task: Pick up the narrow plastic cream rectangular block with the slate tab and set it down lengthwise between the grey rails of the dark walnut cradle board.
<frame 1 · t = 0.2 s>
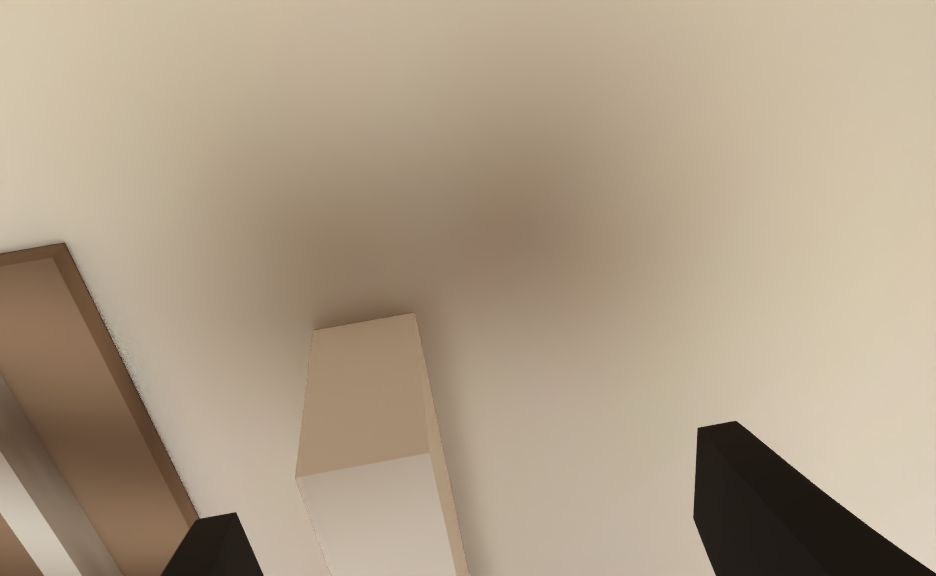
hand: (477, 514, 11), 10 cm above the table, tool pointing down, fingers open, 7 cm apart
cream rectangular block: (406, 485, 24), on the table
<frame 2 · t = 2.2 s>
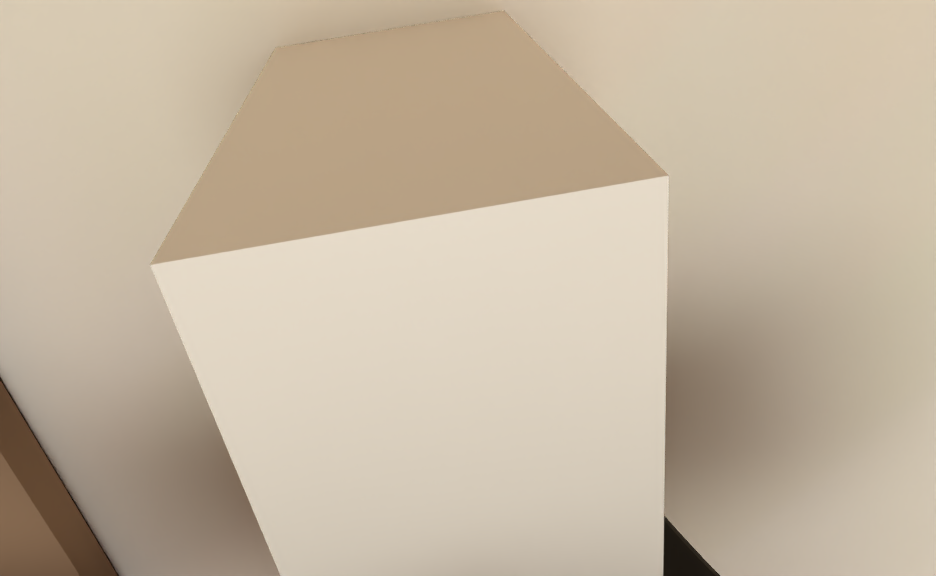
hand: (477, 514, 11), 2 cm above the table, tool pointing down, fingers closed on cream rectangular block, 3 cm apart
cream rectangular block: (463, 429, 13), on the table, touching gripper
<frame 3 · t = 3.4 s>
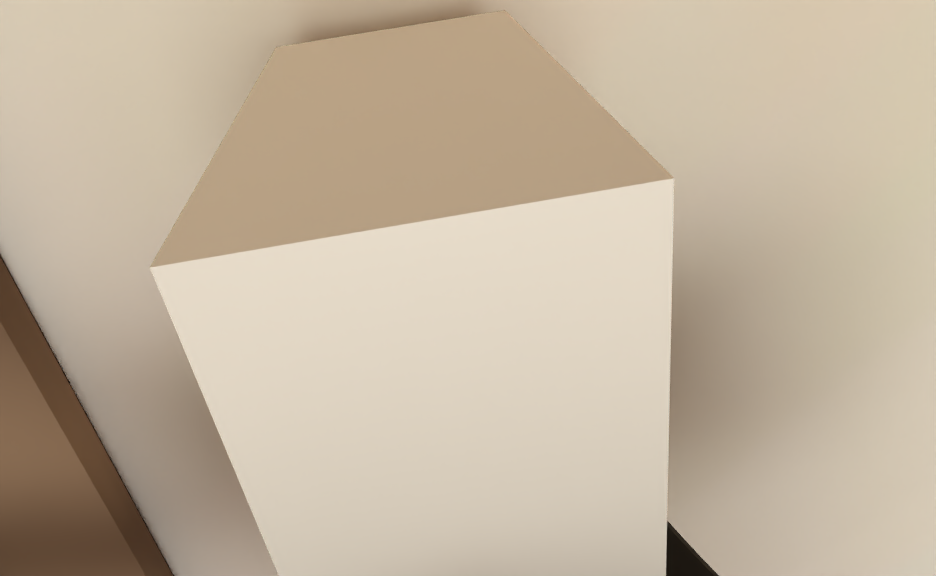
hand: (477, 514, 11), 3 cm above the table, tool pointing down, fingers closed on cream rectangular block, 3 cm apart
cream rectangular block: (463, 431, 13), point 1 cm above the table, touching gripper
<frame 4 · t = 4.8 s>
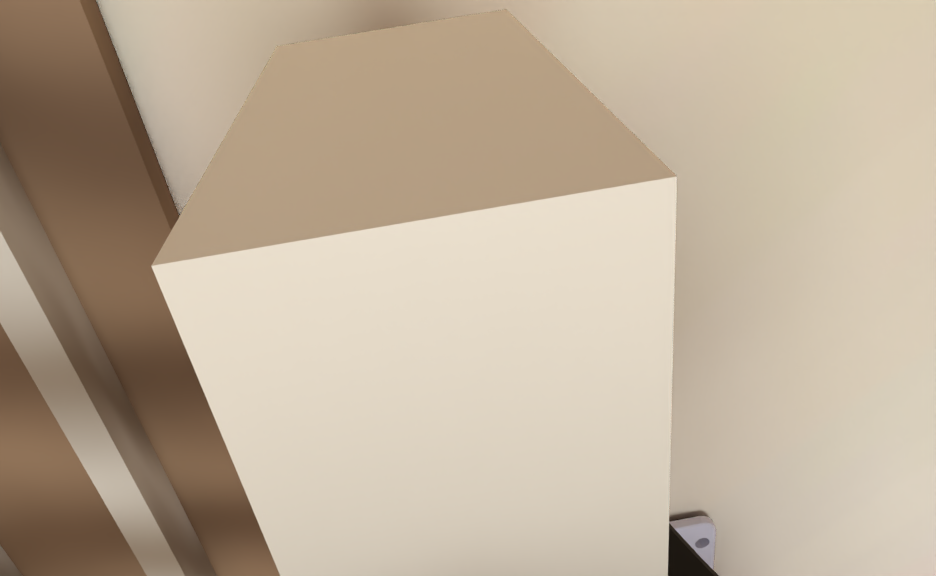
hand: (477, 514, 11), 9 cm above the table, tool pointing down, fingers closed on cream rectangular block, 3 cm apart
cream rectangular block: (464, 430, 13), point 7 cm above the table, touching gripper
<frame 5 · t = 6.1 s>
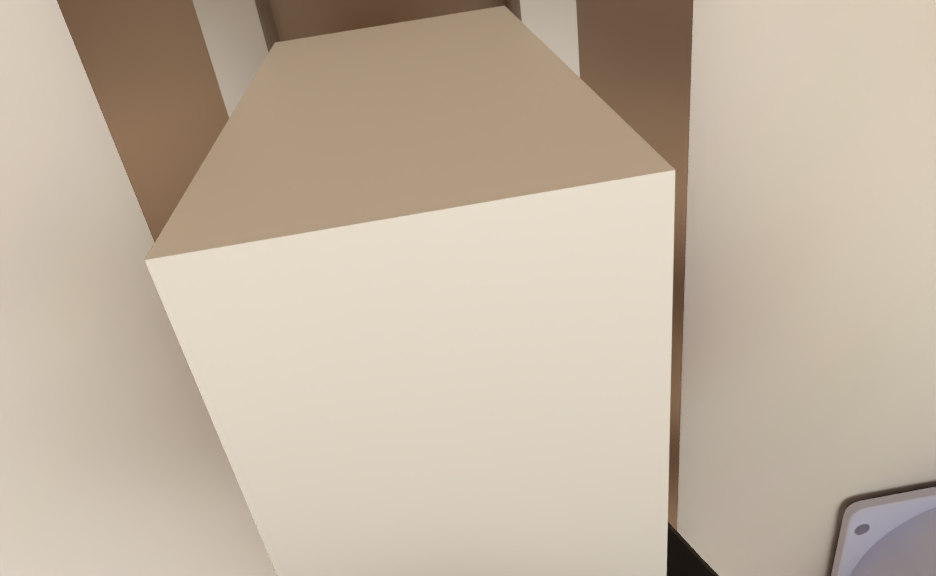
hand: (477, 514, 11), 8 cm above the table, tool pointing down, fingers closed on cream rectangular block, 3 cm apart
cradle: (439, 277, 18), on the table
cream rectangular block: (463, 429, 13), point 6 cm above the table, touching gripper
when the fingers open (4 cm above the table, at t = 7.2 s): cream rectangular block drops 1 cm, resting on cradle.
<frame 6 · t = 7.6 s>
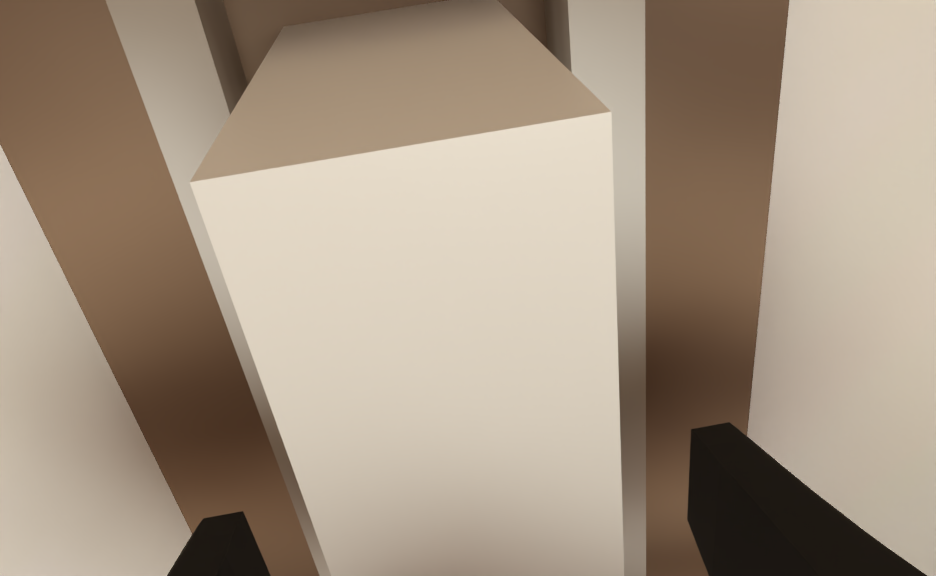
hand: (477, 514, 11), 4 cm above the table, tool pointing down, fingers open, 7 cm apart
cradle: (453, 366, 14), on the table
cream rectangular block: (455, 388, 14), point 1 cm above the table, touching cradle
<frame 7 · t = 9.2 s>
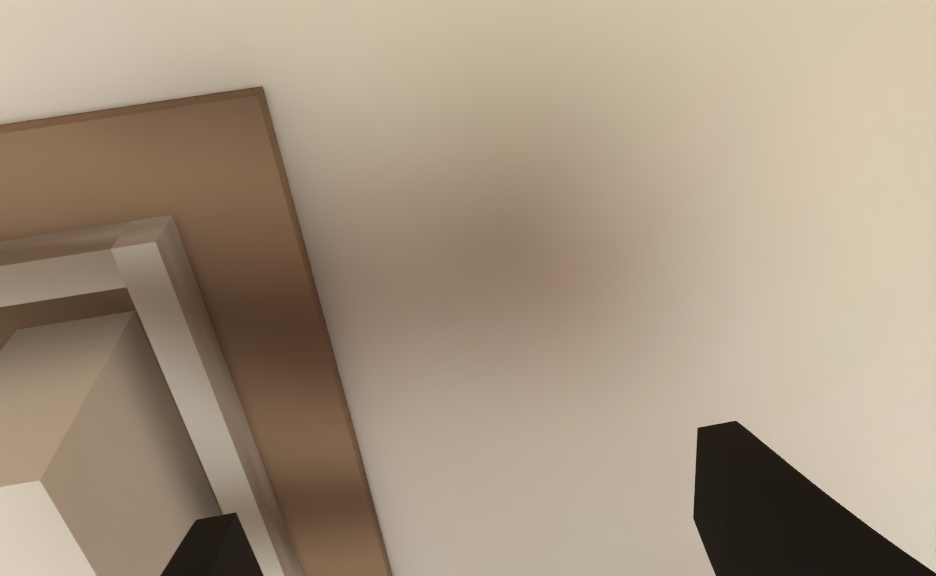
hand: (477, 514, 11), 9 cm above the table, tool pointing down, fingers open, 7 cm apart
cradle: (174, 490, 22), on the table
cream rectangular block: (166, 508, 22), point 1 cm above the table, touching cradle
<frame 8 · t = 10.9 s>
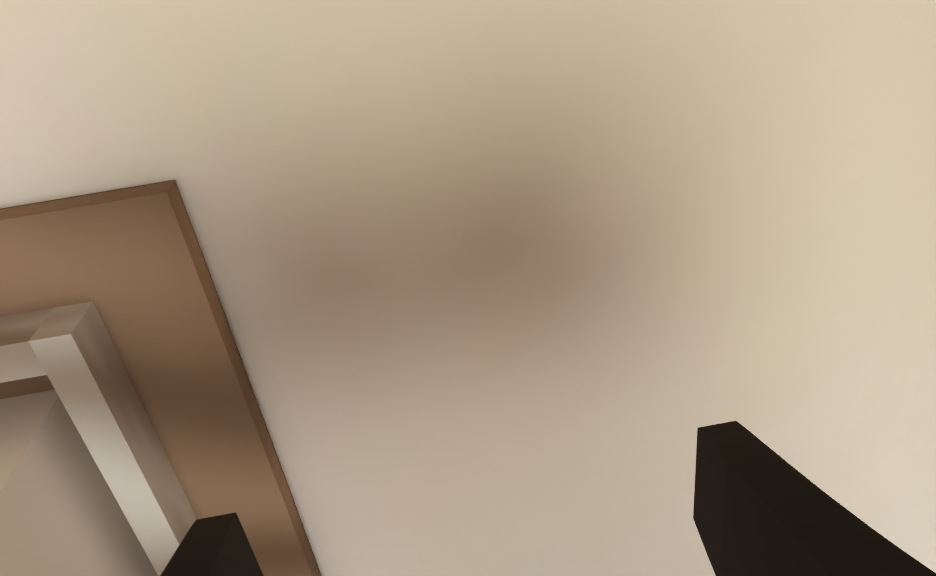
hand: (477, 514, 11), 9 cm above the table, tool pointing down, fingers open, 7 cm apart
cradle: (118, 546, 23), on the table
cream rectangular block: (109, 565, 23), point 1 cm above the table, touching cradle
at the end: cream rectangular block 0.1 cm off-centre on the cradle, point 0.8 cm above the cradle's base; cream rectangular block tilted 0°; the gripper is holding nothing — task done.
